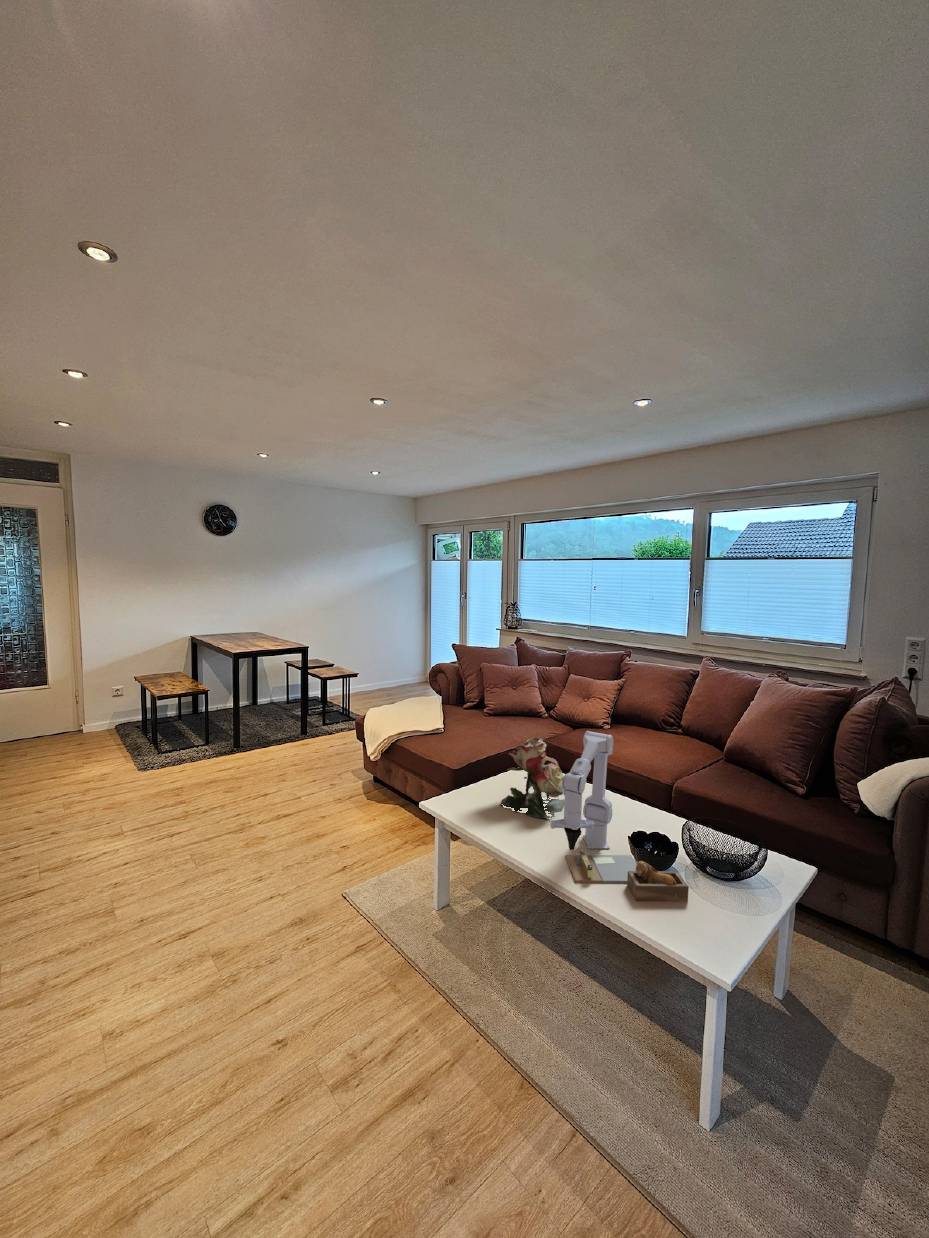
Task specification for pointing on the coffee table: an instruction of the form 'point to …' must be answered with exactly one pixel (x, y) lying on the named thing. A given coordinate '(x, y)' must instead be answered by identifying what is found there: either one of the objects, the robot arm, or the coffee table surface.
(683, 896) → the display tray
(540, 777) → the rose bouquet
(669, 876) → the lion figurine
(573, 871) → the door board
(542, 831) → the coffee table surface
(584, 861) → the latch bar
